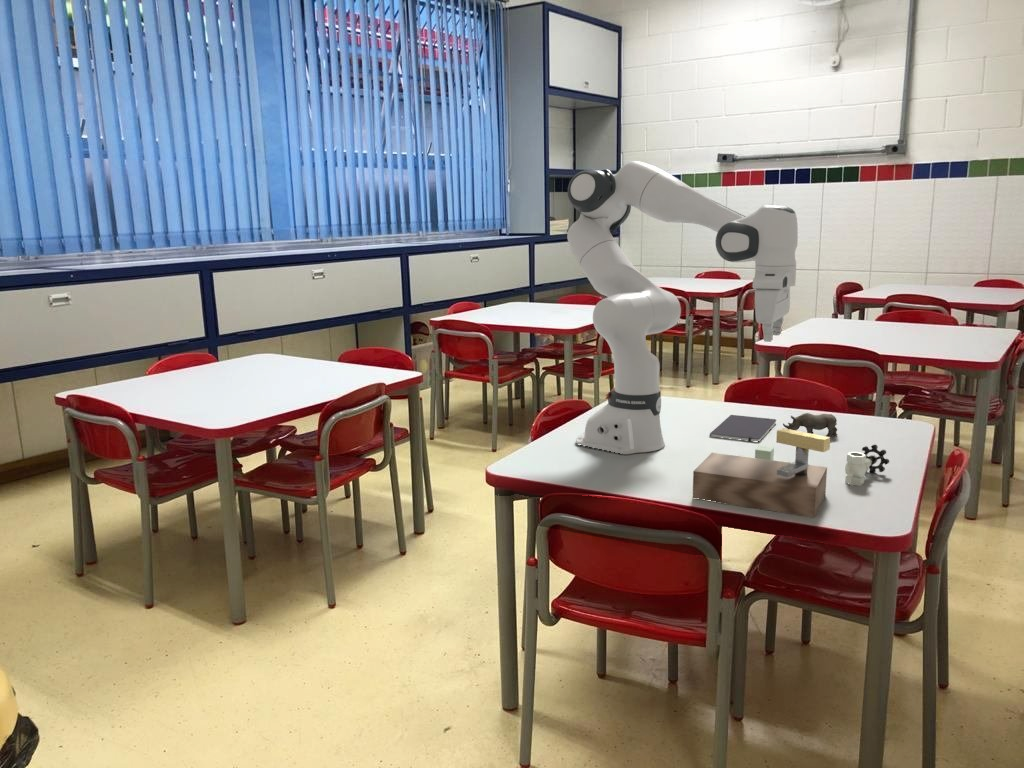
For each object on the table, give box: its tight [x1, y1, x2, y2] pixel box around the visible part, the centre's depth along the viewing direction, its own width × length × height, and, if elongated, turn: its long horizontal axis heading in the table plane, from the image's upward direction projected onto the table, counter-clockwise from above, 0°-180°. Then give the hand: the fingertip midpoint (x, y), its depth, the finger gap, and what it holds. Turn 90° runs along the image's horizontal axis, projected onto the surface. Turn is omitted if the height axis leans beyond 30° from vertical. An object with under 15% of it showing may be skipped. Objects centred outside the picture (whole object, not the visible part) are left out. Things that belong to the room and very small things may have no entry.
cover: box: [737, 445, 794, 463], centre depth 185 cm, size 14×10×6 cm
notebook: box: [709, 414, 777, 442], centre depth 217 cm, size 13×2×21 cm
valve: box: [844, 443, 890, 487], centre depth 177 cm, size 7×7×12 cm
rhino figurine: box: [782, 412, 838, 438], centre depth 210 cm, size 4×14×6 cm, turn 78°
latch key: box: [776, 427, 831, 477], centre depth 160 cm, size 9×10×8 cm
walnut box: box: [692, 452, 828, 518], centre depth 167 cm, size 24×14×6 cm, turn 61°
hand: (772, 338), depth 186 cm, fingers open, 8 cm apart
